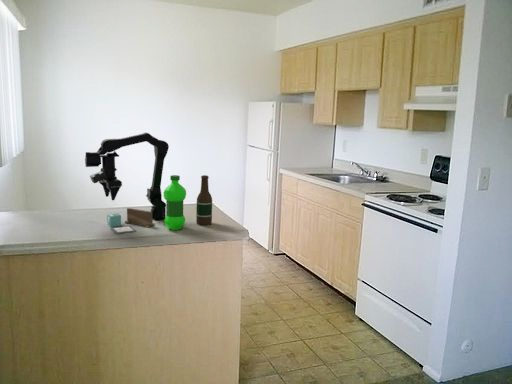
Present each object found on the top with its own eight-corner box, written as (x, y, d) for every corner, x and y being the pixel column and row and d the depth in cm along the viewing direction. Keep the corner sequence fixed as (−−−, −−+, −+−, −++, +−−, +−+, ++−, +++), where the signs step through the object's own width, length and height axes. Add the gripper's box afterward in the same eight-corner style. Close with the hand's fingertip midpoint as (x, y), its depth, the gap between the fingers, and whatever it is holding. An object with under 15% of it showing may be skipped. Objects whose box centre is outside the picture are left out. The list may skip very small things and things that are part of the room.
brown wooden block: (131, 220, 219) (131, 207, 218) (154, 225, 213) (154, 211, 212) (124, 223, 215) (124, 209, 213) (147, 227, 209) (147, 213, 207)
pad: (129, 226, 209) (129, 225, 209) (136, 231, 202) (136, 230, 202) (110, 229, 204) (110, 228, 204) (116, 234, 197) (116, 233, 197)
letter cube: (117, 223, 214) (117, 213, 213) (121, 225, 210) (120, 215, 209) (107, 224, 212) (106, 214, 211) (110, 227, 208) (110, 216, 206)
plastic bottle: (161, 226, 212) (161, 174, 207) (183, 224, 216) (183, 173, 211) (166, 232, 203) (165, 178, 198) (188, 230, 207) (189, 177, 202)
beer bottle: (214, 223, 221) (215, 175, 216) (206, 226, 214) (207, 177, 209) (201, 220, 224) (202, 173, 219) (193, 224, 217) (193, 175, 213)
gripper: (85, 164, 213) (87, 196, 216) (96, 170, 198) (98, 204, 201) (109, 163, 219) (110, 194, 222) (121, 168, 204) (122, 201, 207)
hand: (110, 198), depth 213 cm, fingers open, 9 cm apart
